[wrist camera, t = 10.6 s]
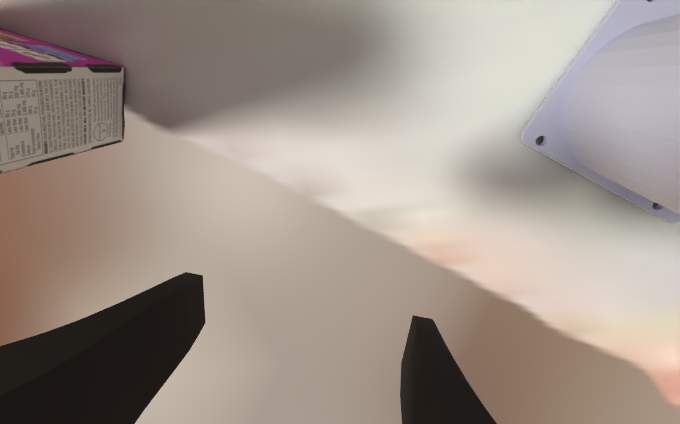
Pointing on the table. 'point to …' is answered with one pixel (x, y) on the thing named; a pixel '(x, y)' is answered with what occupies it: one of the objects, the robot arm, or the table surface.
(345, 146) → the table surface
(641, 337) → the table surface
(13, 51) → the candy bar box
